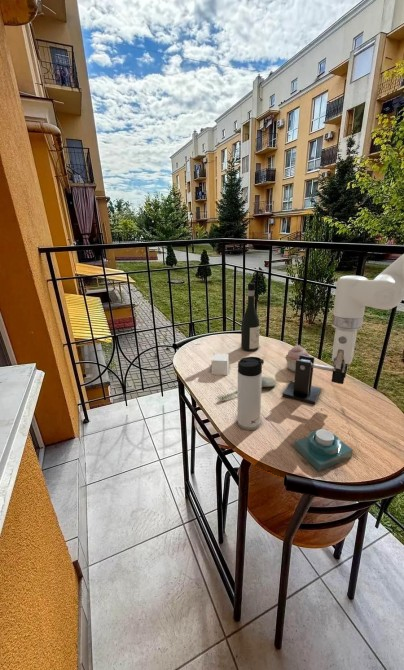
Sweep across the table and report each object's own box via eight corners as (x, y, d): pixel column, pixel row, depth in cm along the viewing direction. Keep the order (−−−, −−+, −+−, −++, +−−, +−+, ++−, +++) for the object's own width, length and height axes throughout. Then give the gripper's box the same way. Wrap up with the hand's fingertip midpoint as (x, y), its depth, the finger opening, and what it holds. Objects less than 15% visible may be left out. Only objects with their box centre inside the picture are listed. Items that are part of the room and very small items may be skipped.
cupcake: (315, 371, 106) (317, 347, 102) (294, 376, 103) (296, 351, 99) (299, 361, 114) (301, 339, 110) (279, 366, 111) (281, 342, 108)
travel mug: (259, 433, 75) (261, 366, 68) (235, 428, 77) (235, 363, 70) (262, 419, 81) (265, 355, 74) (240, 414, 83) (240, 353, 76)
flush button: (324, 433, 69) (324, 427, 68) (337, 443, 65) (338, 437, 65) (311, 437, 68) (312, 431, 67) (324, 448, 64) (324, 442, 63)
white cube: (211, 374, 107) (211, 360, 105) (213, 367, 112) (213, 353, 110) (227, 375, 106) (227, 360, 104) (228, 368, 111) (228, 354, 109)
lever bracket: (320, 391, 93) (325, 356, 88) (314, 405, 86) (319, 367, 81) (290, 384, 98) (293, 350, 94) (282, 396, 91) (285, 361, 87)
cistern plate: (325, 436, 73) (327, 423, 72) (351, 457, 66) (354, 443, 65) (294, 448, 70) (295, 434, 68) (318, 471, 63) (320, 457, 61)
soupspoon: (279, 388, 97) (266, 381, 102) (279, 379, 96) (266, 372, 101) (225, 406, 87) (215, 397, 93) (225, 396, 86) (214, 387, 92)
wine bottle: (262, 347, 129) (264, 282, 119) (252, 353, 124) (254, 285, 113) (247, 343, 134) (248, 281, 124) (237, 349, 129) (238, 283, 118)
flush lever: (345, 374, 84) (347, 365, 83) (344, 379, 81) (345, 369, 80) (301, 365, 91) (302, 356, 90) (298, 369, 88) (299, 360, 87)
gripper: (359, 332, 69) (348, 396, 76) (364, 315, 82) (355, 371, 88) (326, 328, 73) (319, 389, 79) (336, 312, 86) (329, 366, 92)
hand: (338, 379), depth 84 cm, fingers closed on flush lever, 3 cm apart
